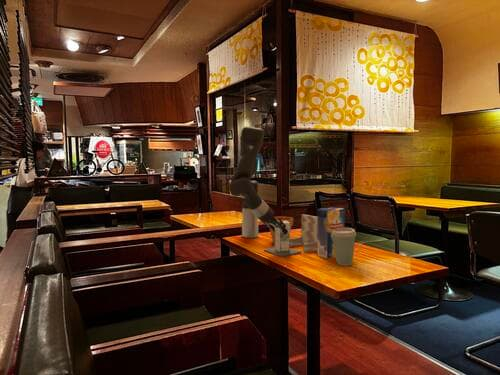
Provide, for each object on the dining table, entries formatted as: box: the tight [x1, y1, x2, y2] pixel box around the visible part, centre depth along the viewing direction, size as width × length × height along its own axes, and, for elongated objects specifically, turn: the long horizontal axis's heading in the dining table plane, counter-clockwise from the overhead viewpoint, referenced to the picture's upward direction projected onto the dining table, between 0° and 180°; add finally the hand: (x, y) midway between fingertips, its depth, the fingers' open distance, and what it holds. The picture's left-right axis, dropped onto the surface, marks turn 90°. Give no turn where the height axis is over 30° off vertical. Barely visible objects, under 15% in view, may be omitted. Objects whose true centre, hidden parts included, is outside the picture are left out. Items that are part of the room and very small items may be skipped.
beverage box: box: [316, 206, 346, 259], centre depth 167 cm, size 7×11×22 cm, turn 122°
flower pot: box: [268, 216, 294, 243], centre depth 198 cm, size 14×14×13 cm
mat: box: [263, 247, 302, 258], centre depth 174 cm, size 14×12×1 cm
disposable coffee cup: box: [331, 227, 357, 267], centre depth 153 cm, size 11×11×15 cm
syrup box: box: [273, 221, 291, 252], centre depth 174 cm, size 6×6×14 cm
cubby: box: [290, 213, 318, 253], centre depth 182 cm, size 14×12×16 cm
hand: (281, 231), depth 173 cm, fingers open, 8 cm apart
